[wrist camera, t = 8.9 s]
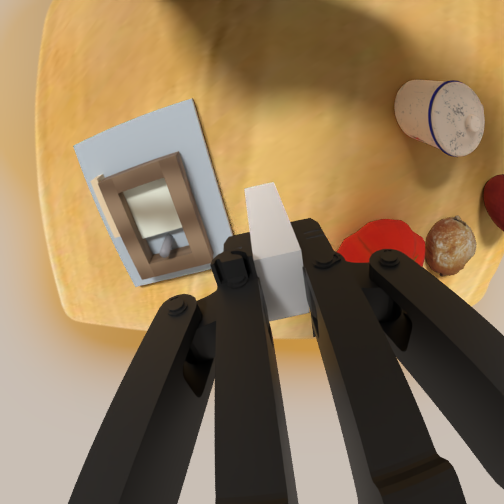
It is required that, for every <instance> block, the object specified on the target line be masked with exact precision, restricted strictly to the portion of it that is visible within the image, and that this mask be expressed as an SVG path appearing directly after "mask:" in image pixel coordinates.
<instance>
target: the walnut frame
mask: <svg viewBox="0 0 504 504" xmlns="http://www.w3.org/2000/svg"><path fill="white" fill-rule="evenodd" d="M98 186H99V188H100V190H101V193H102V195H103V198H104V200H105V202H106V205H107V207H108V209H109V212H110V214H111V216H112V219H113V221H114V223H115V225H116V228H117V230H118V232H119V234H120V236H121V238H122V240H123V243H124V245H125V247H126V249H127V251H128V253H129V255H130V257H131V259H132V261H133V263H134V265H135V267H136V269H137V271H138V273H139V275H140V277H141V279H142V280H144V279H148V278H152V277H156V276H161V275H165V274H169V273H173V272H177V271H181V270H185V269H189V268H193V267H197V266H201V265H205V264H209V263H211V261H212V260H213V254H214V252H213V250H212V247H211V244H210V241H209V239H208V236H207V233H206V230H205V227H204V224H203V221H202V219H201V216H200V213H199V210H198V207H197V204H196V201H195V198H194V195H193V192H192V189H191V186H190V183H189V180H188V177H187V174H186V171H185V168H184V165H183V162H182V159H181V156H180V153H179V151H177V152H174V153H171V154H168V155H165V156H162V157H159V158H156V159H153V160H151V161H148V162H145V163H142V164H139V165H137V166H134V167H131V168H129V169H126V170H123V171H121V172H118V173H116V174H113V175H111V176H108V177H106V178H104V179H103V180H102V181H100V182H99V183H98ZM179 228H183V230H184V233H185V235H186V238H187V241H188V243H189V245H187V246H184V247H180V248H176V249H172V250H170V253H169V256H168V257H166V258H163V257H161V256H160V254H159V253H157V254H154V255H153V254H152V251H151V249H150V247H149V245H148V243H147V240H146V238H147V237H151V236H154V235H158V234H161V233H164V232H168V231H172V230H175V229H179Z"/></svg>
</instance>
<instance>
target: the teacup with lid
mask: <svg viewBox="0 0 504 504" xmlns="http://www.w3.org/2000/svg"><path fill="white" fill-rule="evenodd" d="M394 109H395V116H396V119H397V122H398V124H399V126H400V128H401V129H402V130H403V132H404V133H405V134H407V135H408V136H409V137H411V138H413V139H415V140H418V141H421V142H423V143H426V144H428V145H431V146H433V147H436V148H438V149H441V150H442V151H443V152H444V153H446V154H447V155H450V156H453V157H461V156H465V155H468V154H470V153H471V152H473V151H474V150H475V149H476V147H477V146H478V145H479V143H480V141H481V139H482V136H483V132H484V125H485V119H484V108H483V105H482V104H481V102H480V100H479V98H478V96H477V95H476V94H475V92H474V91H473V90H472V89H471V88H470V87H468V86H467V85H465V84H464V83H462V82H459V81H453V80H452V81H447V82H444V81H432V80H411V81H408V82H406V83H405V84H404V85H403V86H402V87H401V88H400V89H399V91H398V93H397V95H396V98H395V104H394Z"/></svg>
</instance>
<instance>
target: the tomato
mask: <svg viewBox="0 0 504 504" xmlns="http://www.w3.org/2000/svg"><path fill="white" fill-rule="evenodd" d="M381 249H395V250H399V251H401V252H403V253H404V254H406V255H407V256H408V257H410V258H411V259H412V260H414V261H415V262H416V263H418V264H419V265H420V266H423V263H424V259H425V242H424V240H423V238H422V237H421V236H419V235H418V234H416V233H415V232H413V231H412V230H411V229H410V227H409V226H408V224H407V223H405V222H403V221H401V220H392V219H381V220H376V221H372V222H369V223H367V224H366V225H365V226H364V227H362V228H361V229H360V230H359V231H357V232H356V233H354V234H353V235H351V236H349V237H347V238H346V239H344V241H343V242H342V244H341V246H340V247H339V249H338V251H337V253H340V254H341V255H342V256H343V257H344V258H345V260H346V261H348V262H355V263H365V262H369V258H370V256H371V255H372V254H373V253H374V252H376V251H378V250H381Z"/></svg>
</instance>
